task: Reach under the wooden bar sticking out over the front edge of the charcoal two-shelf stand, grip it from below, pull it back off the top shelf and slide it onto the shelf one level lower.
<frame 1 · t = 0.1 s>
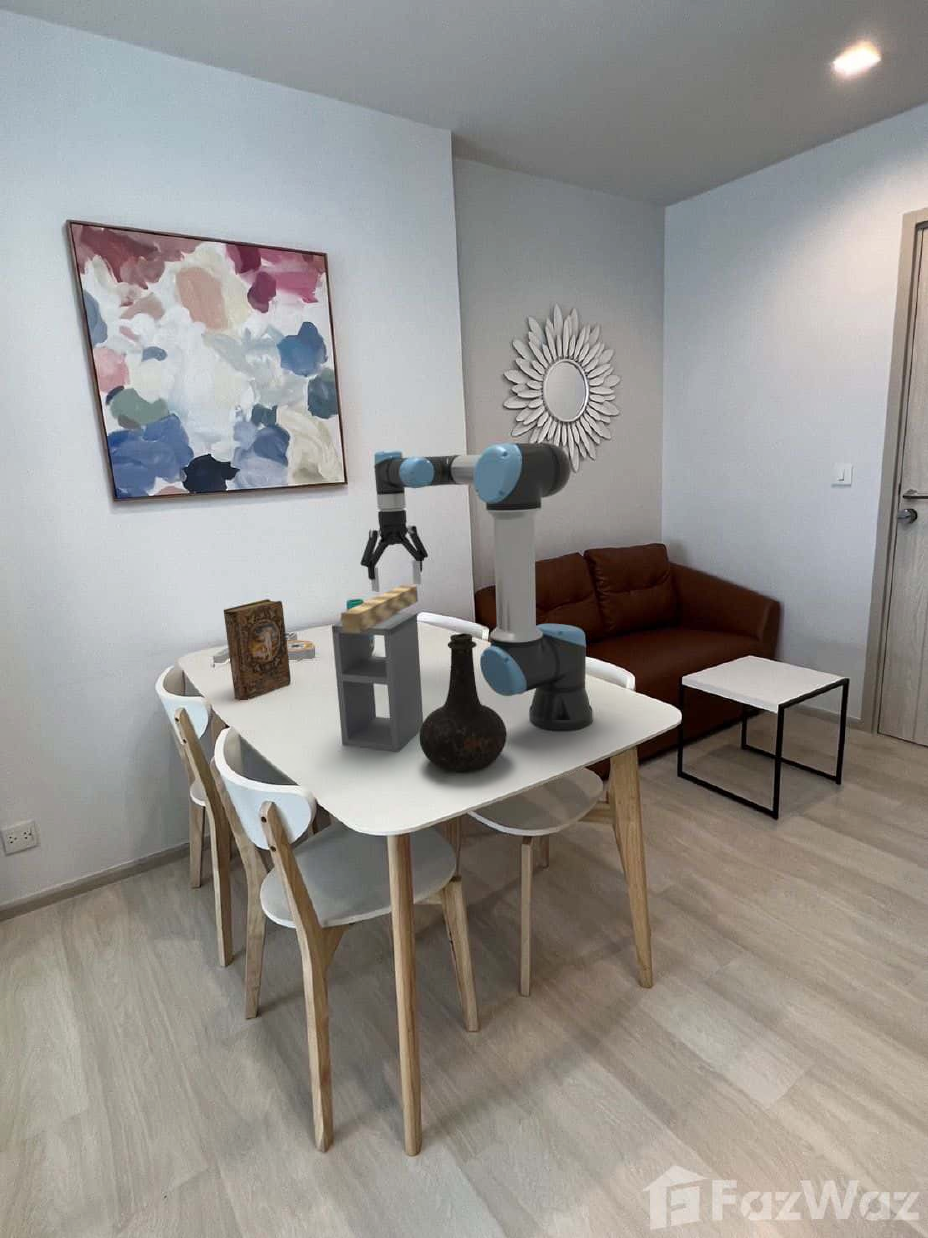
hand: (397, 587, 185), 28 cm above the table, tool pointing down, fingers open, 13 cm apart
shelf: (384, 736, 156), on the table
book: (262, 691, 190), on the table
glass bottle: (464, 764, 141), on the table
wooden bar: (383, 615, 153), point 28 cm above the table, touching shelf
sign: (277, 656, 225), on the table
vase: (359, 658, 217), on the table
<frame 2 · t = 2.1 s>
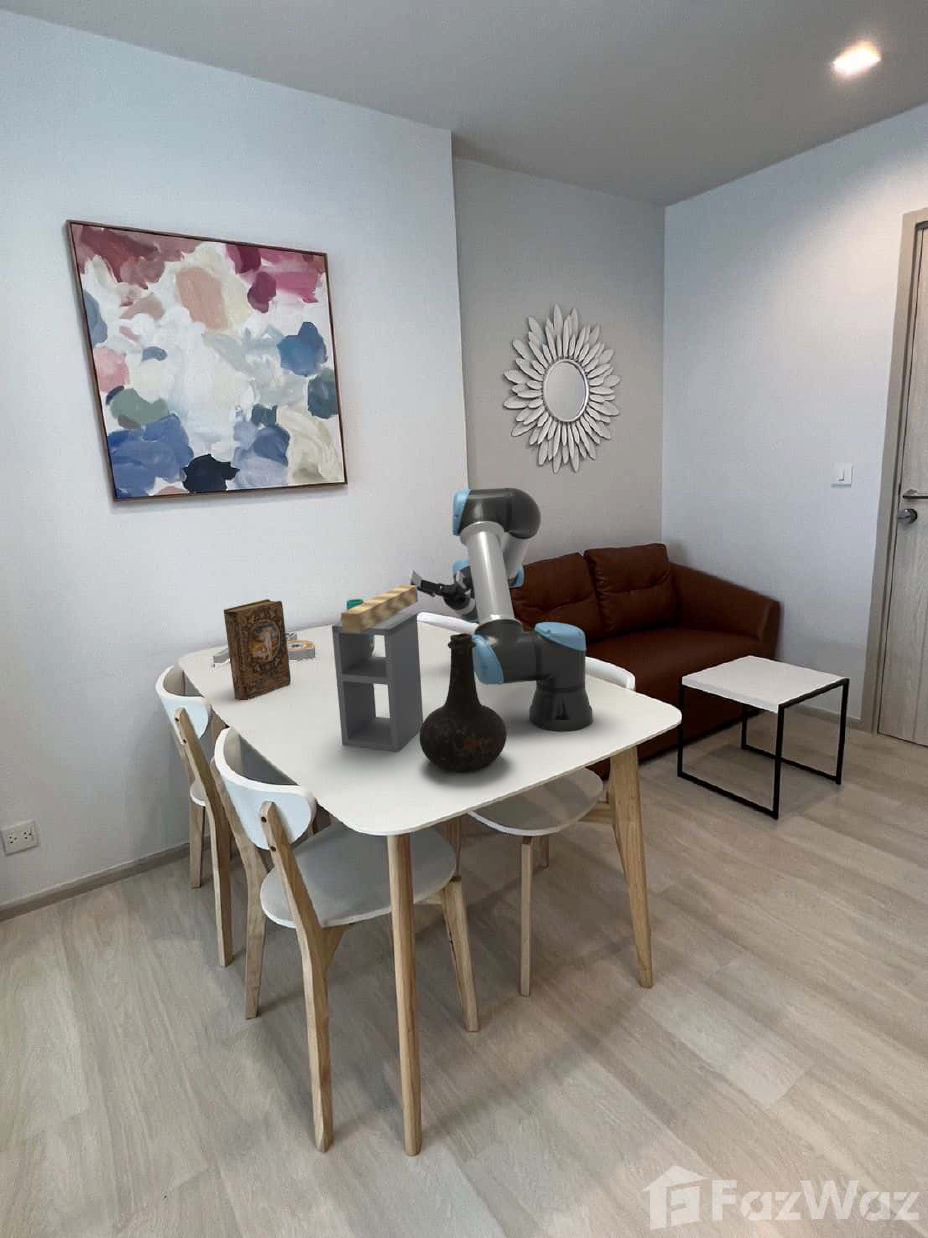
hand: (433, 575, 180), 32 cm above the table, tool pointing upward, fingers open, 13 cm apart
nothing on the table moved.
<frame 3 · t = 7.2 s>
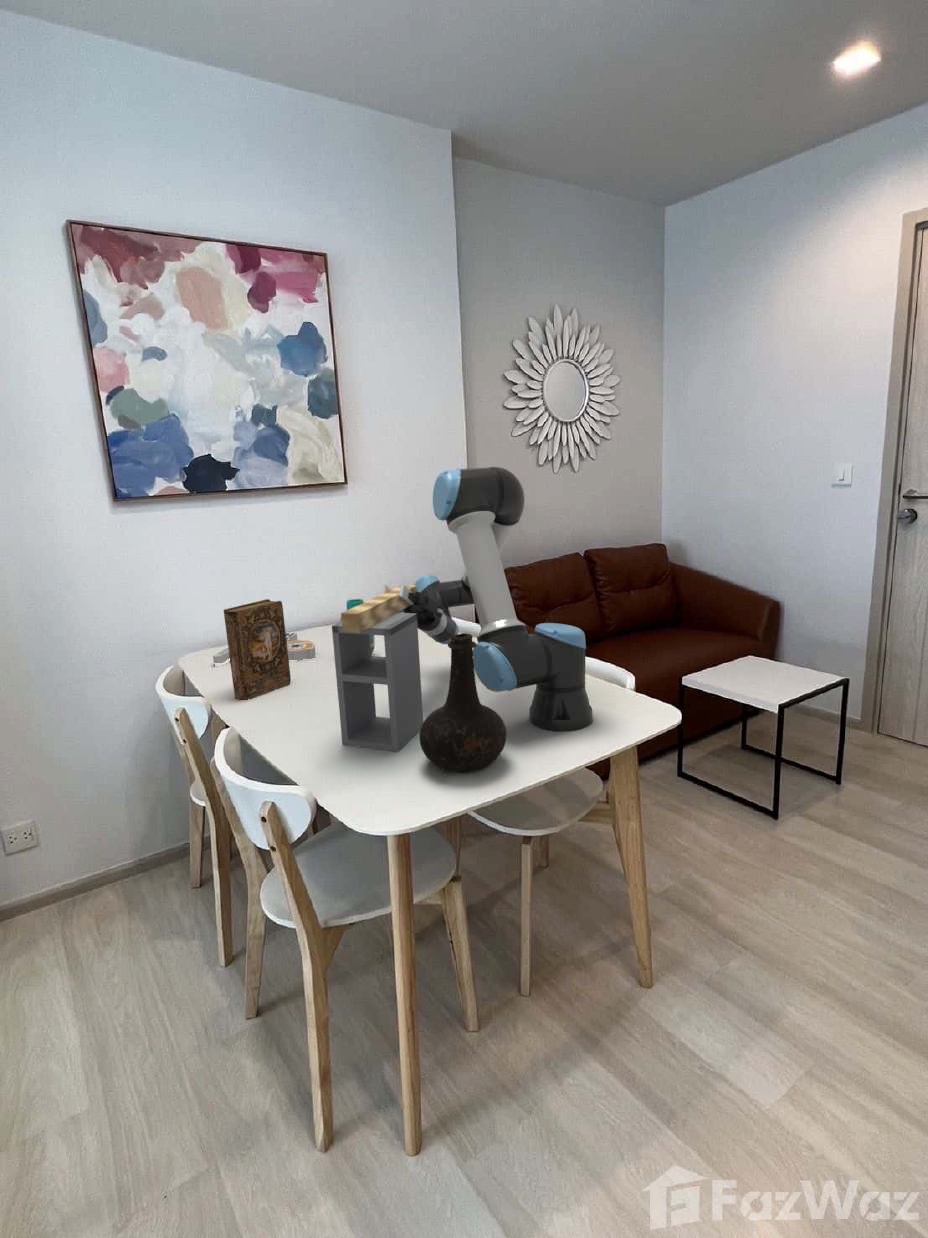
hand: (392, 590, 157), 33 cm above the table, tool pointing upward, fingers closed on wooden bar, 4 cm apart
wooden bar: (383, 615, 153), point 28 cm above the table, touching gripper, shelf
everything else where it was.
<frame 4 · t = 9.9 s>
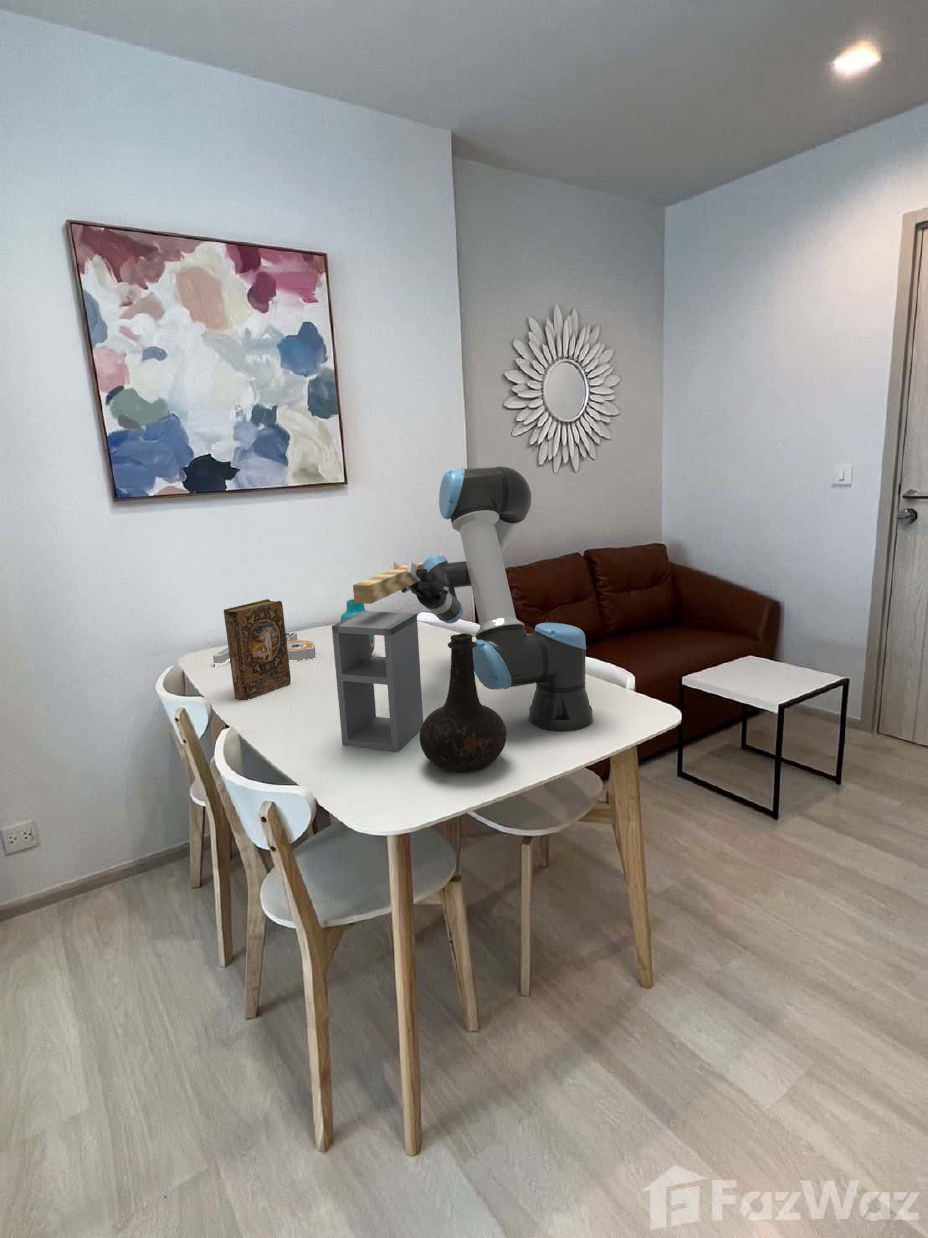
hand: (400, 566, 163), 37 cm above the table, tool pointing upward, fingers closed on wooden bar, 4 cm apart
wooden bar: (392, 589, 159), point 32 cm above the table, touching gripper
everything else where it was.
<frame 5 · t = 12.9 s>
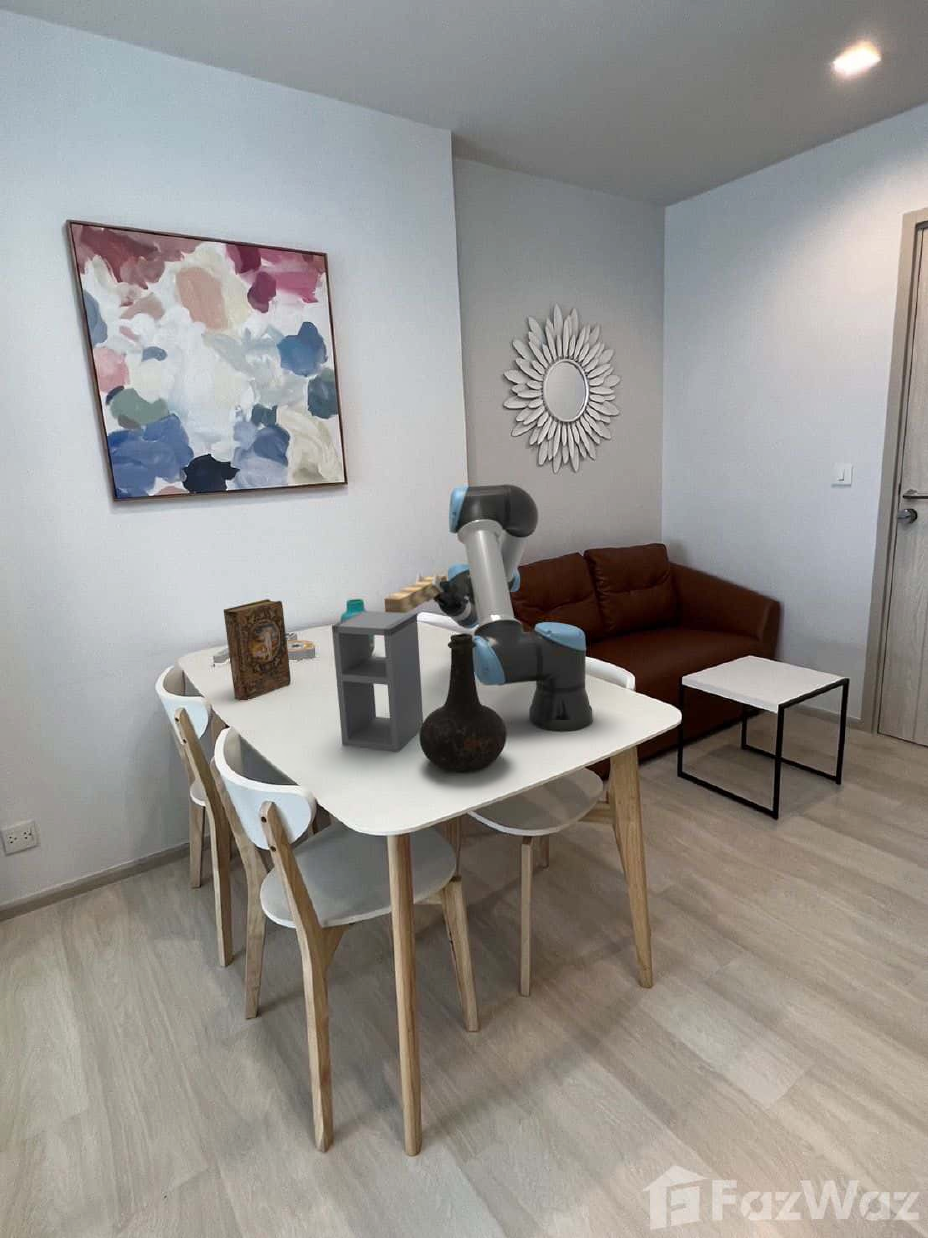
hand: (425, 579, 175), 32 cm above the table, tool pointing upward, fingers closed on wooden bar, 4 cm apart
wooden bar: (418, 601, 172), point 27 cm above the table, touching gripper
everything else where it was.
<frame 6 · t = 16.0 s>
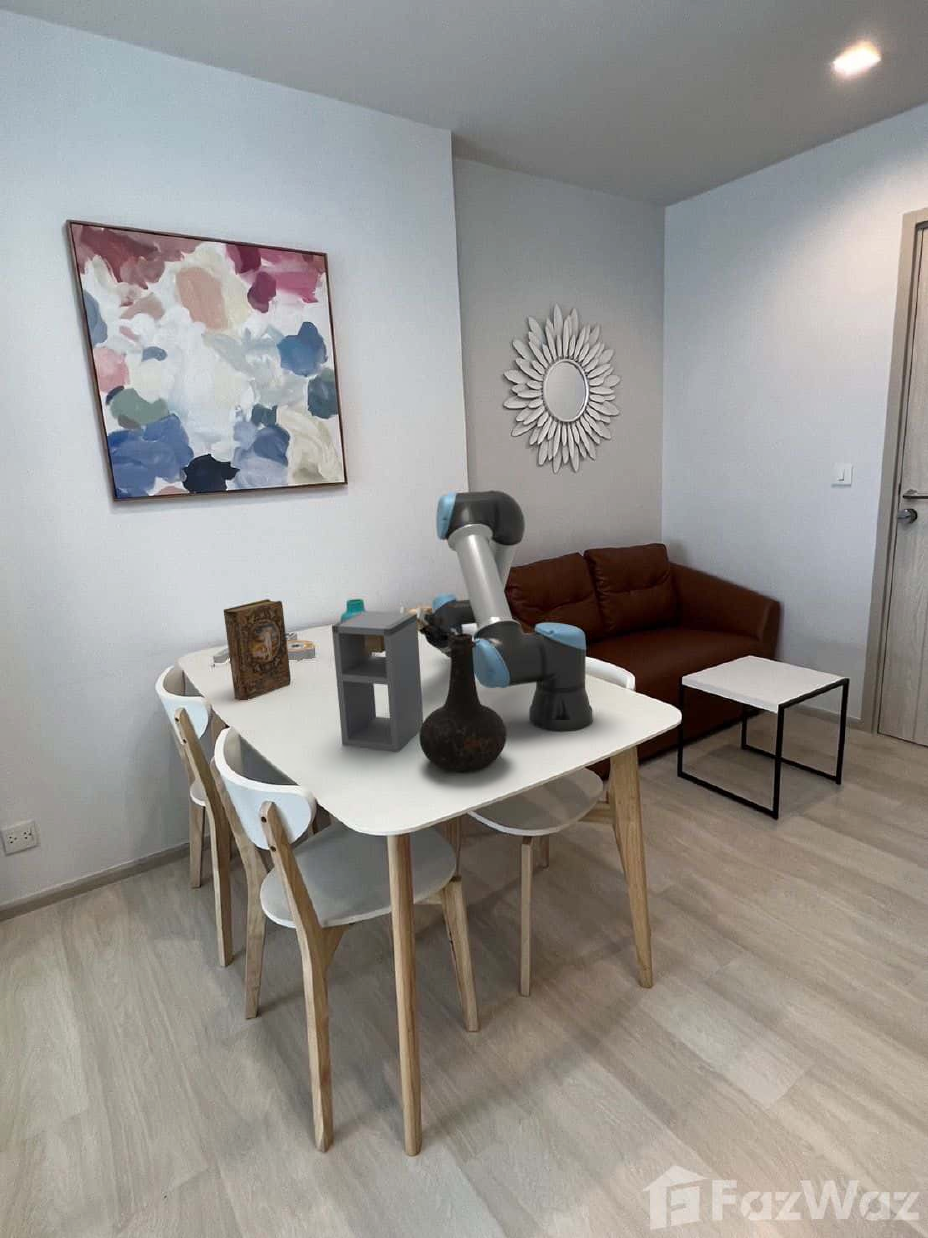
hand: (409, 612, 170), 25 cm above the table, tool pointing upward, fingers closed on wooden bar, 4 cm apart
wooden bar: (401, 635, 166), point 20 cm above the table, touching gripper
everything else where it was.
when the fingers open (25 cm above the table, at t = 18.8 s): wooden bar drops 3 cm, resting on shelf.
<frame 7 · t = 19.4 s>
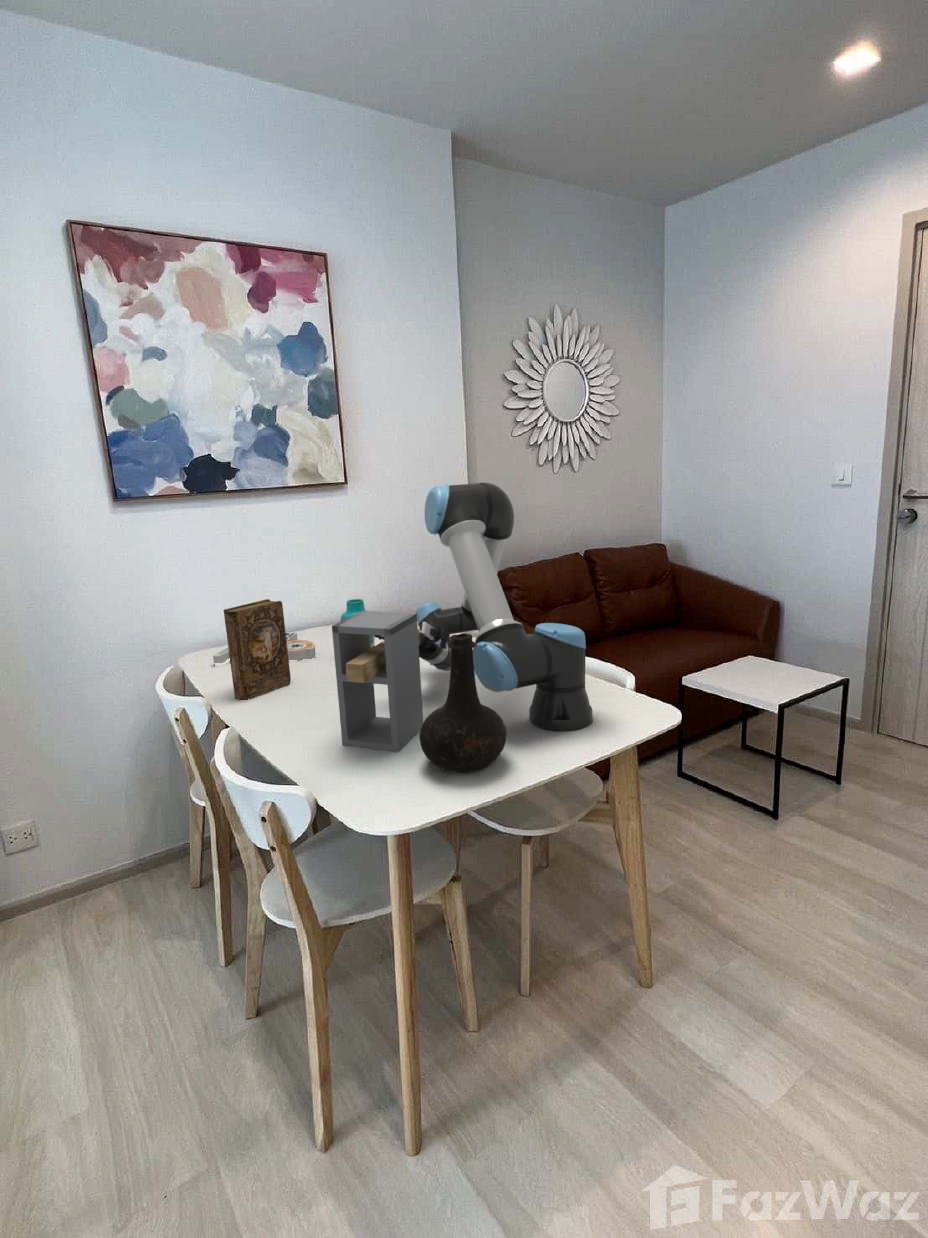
hand: (397, 625, 160), 24 cm above the table, tool pointing upward, fingers open, 13 cm apart
wooden bar: (386, 661, 156), point 17 cm above the table, touching shelf
everything else where it was.
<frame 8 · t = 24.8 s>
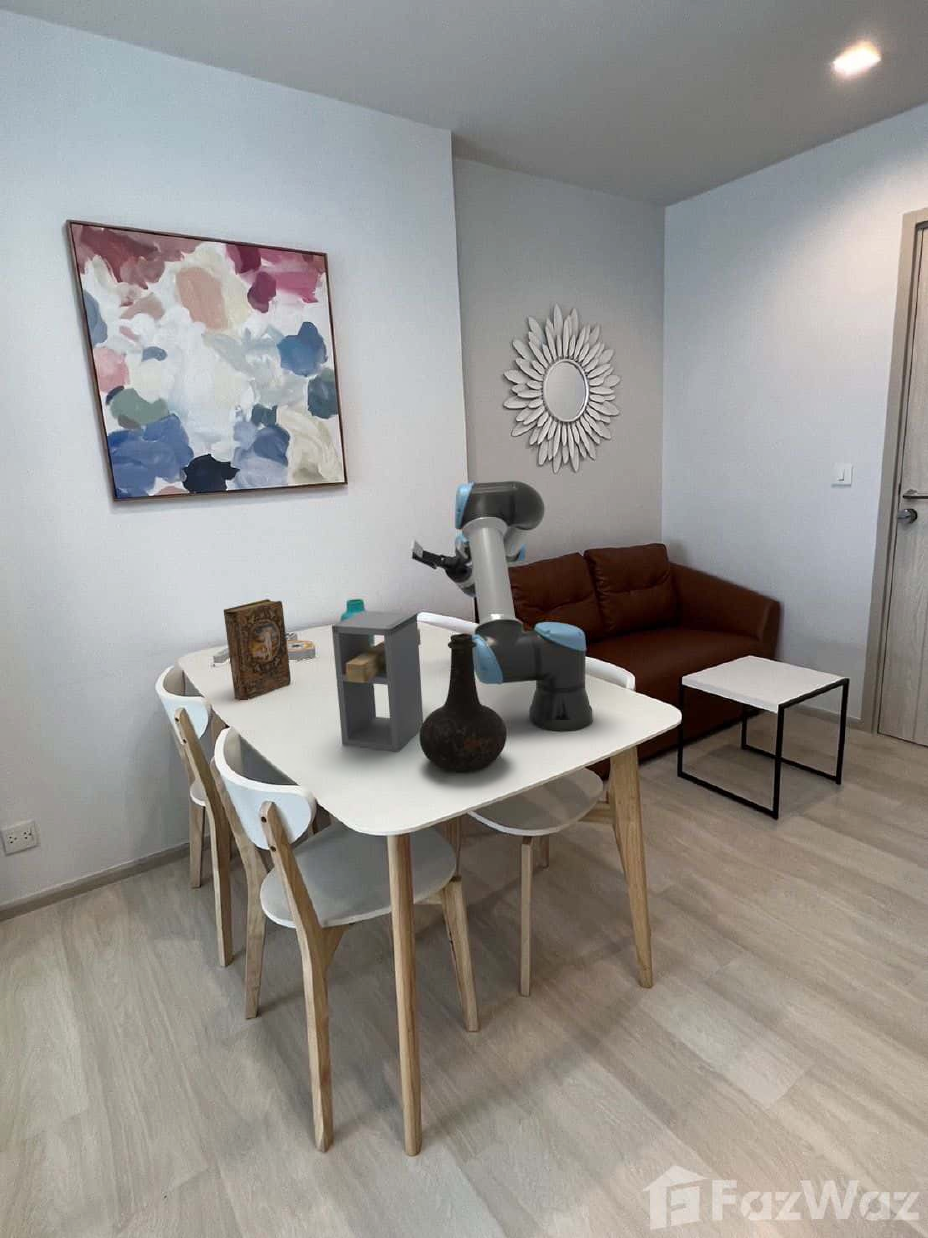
hand: (435, 544, 180), 40 cm above the table, tool pointing upward, fingers open, 13 cm apart
nothing on the table moved.
at the end: wooden bar inside the target area on the shelf (0.3 cm from its centre), point 17.0 cm above the shelf's base; wooden bar tilted 0°; the gripper is holding nothing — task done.
